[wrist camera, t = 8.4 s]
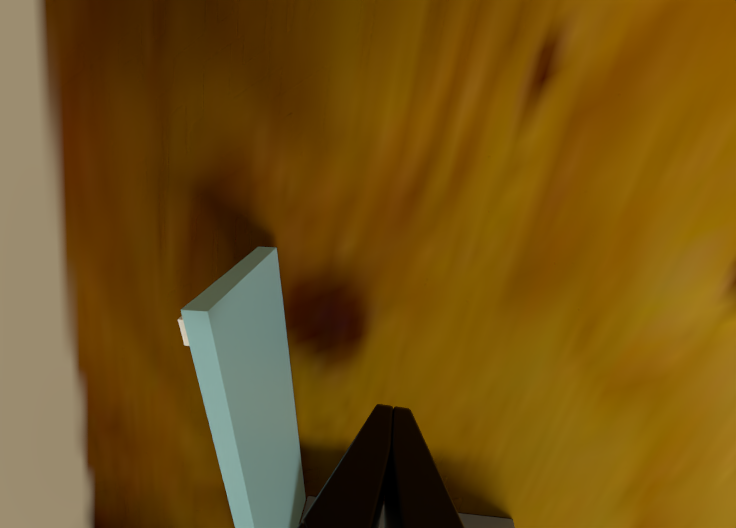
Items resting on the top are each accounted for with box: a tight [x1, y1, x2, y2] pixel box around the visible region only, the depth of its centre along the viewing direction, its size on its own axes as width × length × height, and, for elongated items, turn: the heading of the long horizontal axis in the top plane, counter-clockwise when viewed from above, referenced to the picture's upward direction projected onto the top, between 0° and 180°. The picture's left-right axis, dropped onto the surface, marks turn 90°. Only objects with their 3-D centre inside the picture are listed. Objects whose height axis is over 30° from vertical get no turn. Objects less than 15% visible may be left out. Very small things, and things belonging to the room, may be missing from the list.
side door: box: [178, 247, 306, 528], centre depth 15 cm, size 16×2×5 cm, turn 0°
